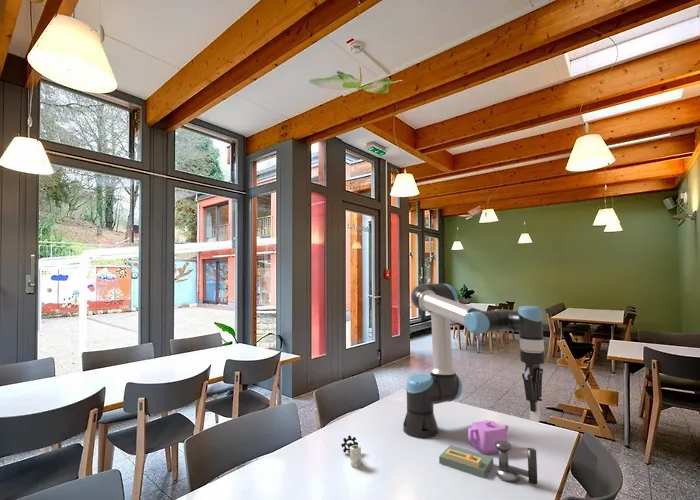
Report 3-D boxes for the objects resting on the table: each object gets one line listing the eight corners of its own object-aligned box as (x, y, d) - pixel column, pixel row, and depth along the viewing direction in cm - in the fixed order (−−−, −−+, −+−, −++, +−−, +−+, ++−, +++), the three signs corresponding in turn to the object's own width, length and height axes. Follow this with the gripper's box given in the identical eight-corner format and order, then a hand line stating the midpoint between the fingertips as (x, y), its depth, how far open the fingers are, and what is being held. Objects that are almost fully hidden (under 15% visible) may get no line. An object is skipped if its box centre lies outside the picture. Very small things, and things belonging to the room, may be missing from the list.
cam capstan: (493, 477, 120) (492, 444, 121) (499, 468, 126) (498, 436, 127) (535, 490, 113) (534, 455, 114) (539, 480, 118) (538, 447, 119)
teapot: (500, 439, 149) (499, 414, 150) (517, 451, 139) (516, 424, 140) (461, 444, 145) (461, 418, 146) (477, 457, 135) (476, 429, 136)
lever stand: (439, 463, 130) (439, 448, 130) (450, 451, 139) (450, 438, 139) (484, 478, 120) (483, 462, 121) (493, 464, 129) (492, 449, 130)
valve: (366, 467, 128) (357, 451, 139) (366, 448, 128) (357, 434, 140) (348, 470, 126) (341, 453, 138) (348, 450, 127) (341, 436, 138)
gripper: (528, 346, 132) (530, 412, 130) (513, 351, 123) (516, 422, 122) (550, 349, 127) (553, 418, 125) (536, 355, 118) (539, 429, 116)
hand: (535, 420), depth 123 cm, fingers closed
